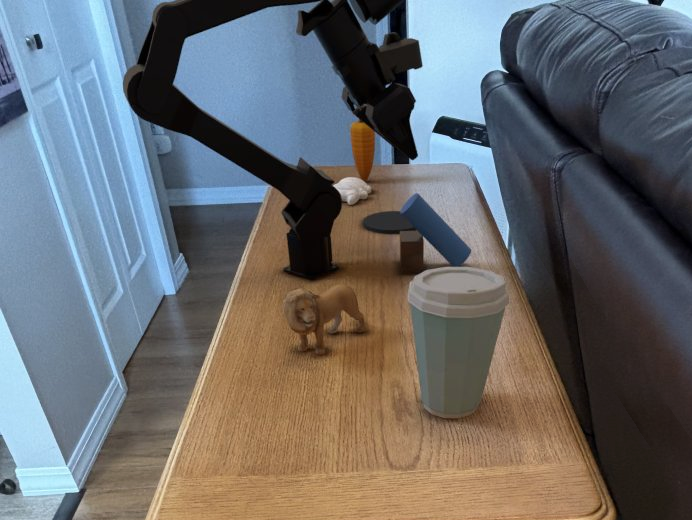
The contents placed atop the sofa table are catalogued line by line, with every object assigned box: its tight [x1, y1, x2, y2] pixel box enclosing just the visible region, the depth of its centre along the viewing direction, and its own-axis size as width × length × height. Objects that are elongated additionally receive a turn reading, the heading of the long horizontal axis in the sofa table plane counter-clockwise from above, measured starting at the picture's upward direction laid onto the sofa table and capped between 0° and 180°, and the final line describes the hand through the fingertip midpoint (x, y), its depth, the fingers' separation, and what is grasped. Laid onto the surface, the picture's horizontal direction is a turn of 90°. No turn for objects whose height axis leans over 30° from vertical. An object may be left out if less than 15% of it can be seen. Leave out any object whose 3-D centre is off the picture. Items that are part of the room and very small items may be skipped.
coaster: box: [362, 210, 417, 234], centre depth 134 cm, size 11×11×1 cm
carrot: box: [349, 118, 376, 183], centre depth 151 cm, size 5×5×15 cm
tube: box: [400, 192, 472, 267], centre depth 114 cm, size 11×4×11 cm, turn 92°
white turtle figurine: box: [333, 176, 372, 206], centre depth 147 cm, size 9×12×3 cm
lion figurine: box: [282, 284, 366, 356], centre depth 94 cm, size 15×5×9 cm, turn 150°
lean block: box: [399, 230, 425, 275], centre depth 116 cm, size 4×5×5 cm
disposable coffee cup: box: [407, 266, 510, 419], centre depth 79 cm, size 11×11×15 cm
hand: (405, 151), depth 110 cm, fingers open, 9 cm apart
